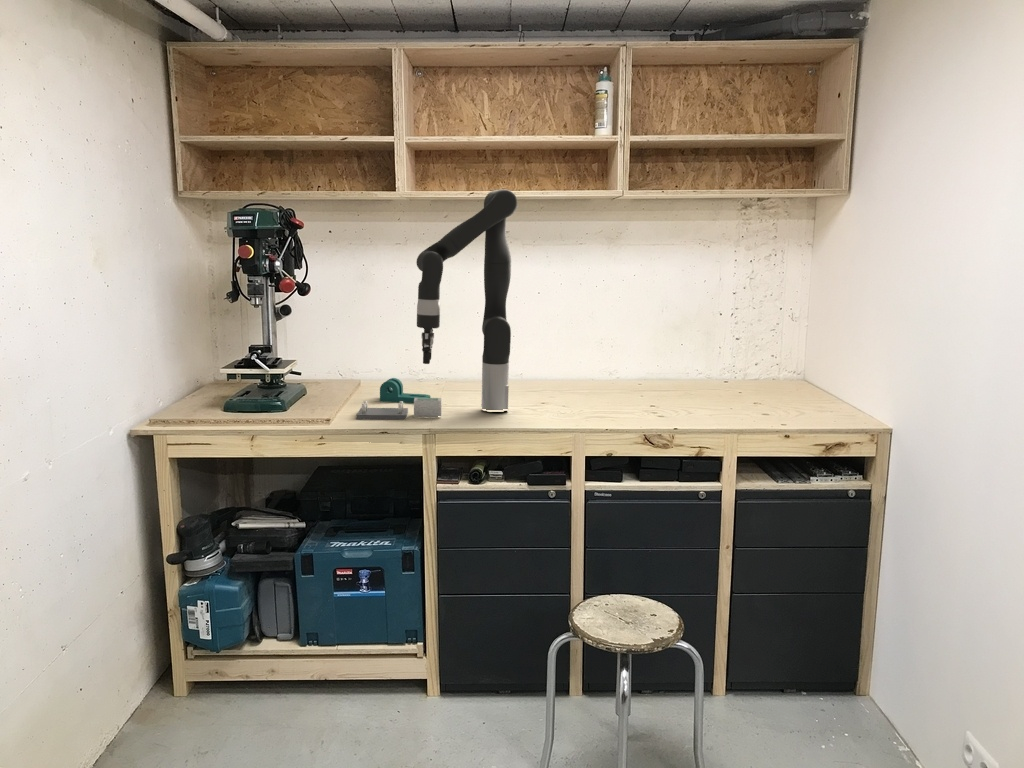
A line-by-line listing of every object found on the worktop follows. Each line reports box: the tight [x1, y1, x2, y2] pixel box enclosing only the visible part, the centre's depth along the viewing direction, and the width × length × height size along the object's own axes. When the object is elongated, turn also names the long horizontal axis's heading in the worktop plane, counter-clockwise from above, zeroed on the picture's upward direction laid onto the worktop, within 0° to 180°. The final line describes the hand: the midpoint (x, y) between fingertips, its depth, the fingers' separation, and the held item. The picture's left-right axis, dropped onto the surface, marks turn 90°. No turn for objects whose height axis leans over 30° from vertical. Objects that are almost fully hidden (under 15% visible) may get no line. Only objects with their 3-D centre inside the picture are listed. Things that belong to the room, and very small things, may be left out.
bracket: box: [379, 377, 431, 404], centre depth 252 cm, size 18×7×8 cm, turn 83°
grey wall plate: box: [356, 400, 409, 421], centre depth 230 cm, size 16×10×4 cm, turn 94°
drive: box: [413, 397, 442, 418], centre depth 231 cm, size 9×4×6 cm, turn 94°
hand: (427, 361), depth 228 cm, fingers open, 8 cm apart
